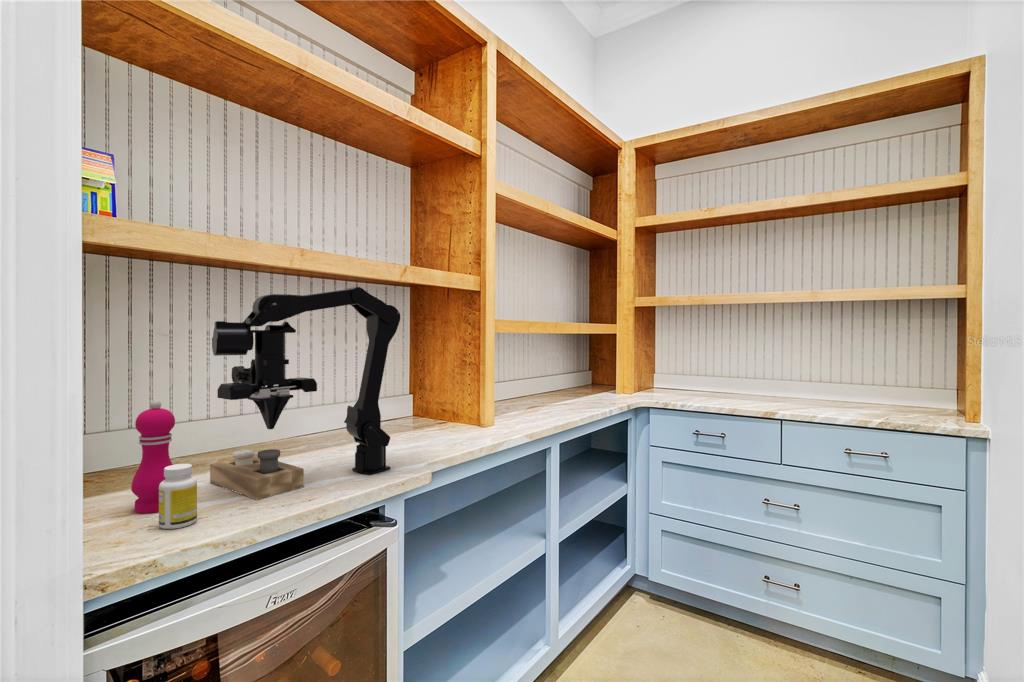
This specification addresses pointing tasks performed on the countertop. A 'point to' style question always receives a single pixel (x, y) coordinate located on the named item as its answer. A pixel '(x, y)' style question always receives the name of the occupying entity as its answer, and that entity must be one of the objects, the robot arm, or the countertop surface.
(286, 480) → the oak socket block
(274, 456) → the charcoal plug
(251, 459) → the white plug
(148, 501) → the pepper mill
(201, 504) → the countertop surface
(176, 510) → the supplement bottle
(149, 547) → the countertop surface
